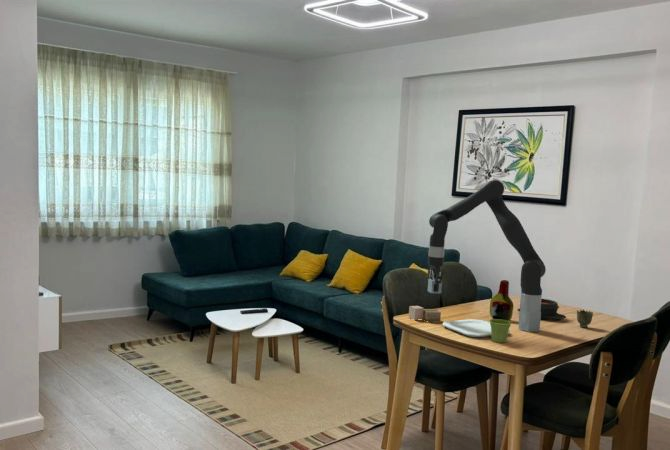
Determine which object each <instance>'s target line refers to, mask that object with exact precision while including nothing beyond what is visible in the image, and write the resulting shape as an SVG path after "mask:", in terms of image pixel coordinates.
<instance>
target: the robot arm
mask: <svg viewBox="0 0 670 450" xmlns="http://www.w3.org/2000/svg"><path fill="white" fill-rule="evenodd" d="M504 192H505V185H504V183H503V182H501V181H500V180H497V179H493V180H490V181H488V182H487V183H486V184H484V186H483V185H482V187H481V188H480V189H478V190H477V191H475V192H474V193H472V194H470V195H469V196H467V197H465V198H463V199H461V200H460V201H458V202H456V203H455V204H453V205H451V206H449V207H448V208H445V209H442V210H440V211H437V212H435V213H434V214H432V215H431V216H430V217H429V220H428V224H429V226H431V228H433V231H432V234H430V237H429V245H428V246H429V248H428V256H427V266H429V267H427V280H428V279H434V292H438V289H439V284H440V283H441V281H442V280H443V274H444V272H443V271H441V267H443V266H444V263H445V241H446V239H445V238H446V235H447V231H448V227H449V222H454V221H457V220H459V219H460V218H463V217H464V216H467V214H469V213H471V212H472V211H473V210H474V209H476V208H477V207H479V206H480V205H481V204H484V203H486V204H487V206H488V207H489V208H490V209H491V211H492V213H493V215H494V216H495V219H496V221H497V223H498V226H500V229H501V231H502V232H503V235H504V237H505V239H506V240H507V241H508V243H509V244H510V245H511V247H513V248H514V250H515V251H516V252H517V253H518V254H519V256H520V257H521V259H522V262H523V264H522V266H521V270H520V289H521V292H520V293H521V294H520V301H519V302H520V304H519V308H520V312H519V313H518V314H519V317H518V327H517V328H518V329H519V330H521V331H525V332H527V333H528V332H529V333H536V332H537V333H539V332H540V331H541V320H542V319H541V312H540V309H541V299H542V296H543V289H542V287H541V280H542V277H544V275H545V273H546V265H545V264H544V261H543V260H542V259H541V257H540V255H539V254H538V253H537V252H536V250H535V248H534V246H533V244H532V243H531V240H530V238H529V236H528V234H527V233H526V231H525V229H524V227H523V225H522V223H521V221H520V219H519V218H518V217H517V216H516V215H515V214H514V213H513V212H512V211H511V210H510V209H509V208H508V206H507V205H506V203H505V200H504V199H503V195H504ZM442 282H443V281H442Z"/></svg>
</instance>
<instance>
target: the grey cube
mask: <svg viewBox="0 0 670 450" xmlns="http://www.w3.org/2000/svg"><path fill="white" fill-rule="evenodd" d="M442 286H443V281H441V283H440V284H439V289H438V292H434V279H428V278H427V292H428V293H430V294H442Z"/></svg>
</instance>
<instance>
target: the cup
mask: <svg viewBox="0 0 670 450" xmlns="http://www.w3.org/2000/svg"><path fill="white" fill-rule="evenodd" d="M593 316H594V312H593V311H590V310H584V309H580V310H576V319H577V322H578V324H579V327H580V328H582V329H587V328H588V327H589V325H590V324H591V323H592V320H593Z"/></svg>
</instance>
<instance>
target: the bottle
mask: <svg viewBox="0 0 670 450" xmlns="http://www.w3.org/2000/svg"><path fill="white" fill-rule="evenodd" d="M509 285H510V281H508V280H507V279H502V280H500V282H499V287H498V288H499V289H498V291H497V293H496V294H495V295H493V296H492V297H491V298H490V302H489V315H490V316H491V319H502V320H507V321H511V320H512V317H513V313H514V312H513V311H514V303H513V300H512V299H511V297H510V295H509V288H510V286H509Z"/></svg>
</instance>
